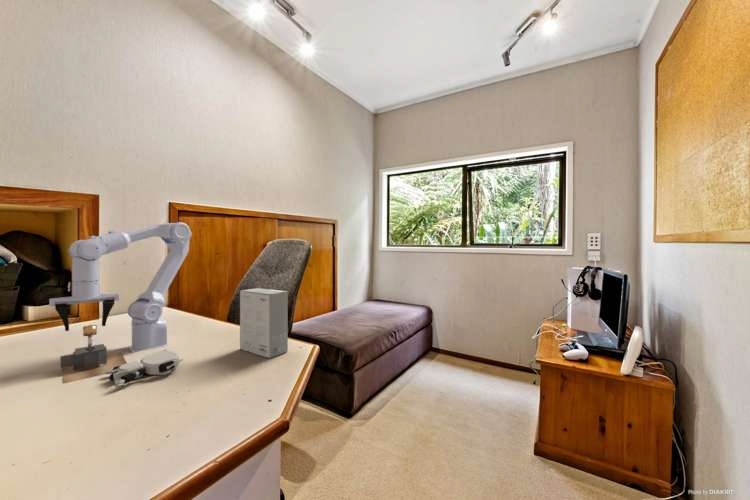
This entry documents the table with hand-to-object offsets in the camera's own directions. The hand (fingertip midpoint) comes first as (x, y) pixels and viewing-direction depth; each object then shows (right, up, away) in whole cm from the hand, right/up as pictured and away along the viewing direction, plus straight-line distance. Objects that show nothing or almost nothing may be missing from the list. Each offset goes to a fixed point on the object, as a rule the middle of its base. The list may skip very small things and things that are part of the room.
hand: (86, 327), depth 89 cm
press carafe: (+3, -10, -3) cm, 11 cm away
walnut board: (+5, -11, -3) cm, 12 cm away
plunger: (+4, -6, -3) cm, 8 cm away
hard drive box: (+47, -11, +12) cm, 50 cm away
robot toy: (+23, -11, -7) cm, 26 cm away
